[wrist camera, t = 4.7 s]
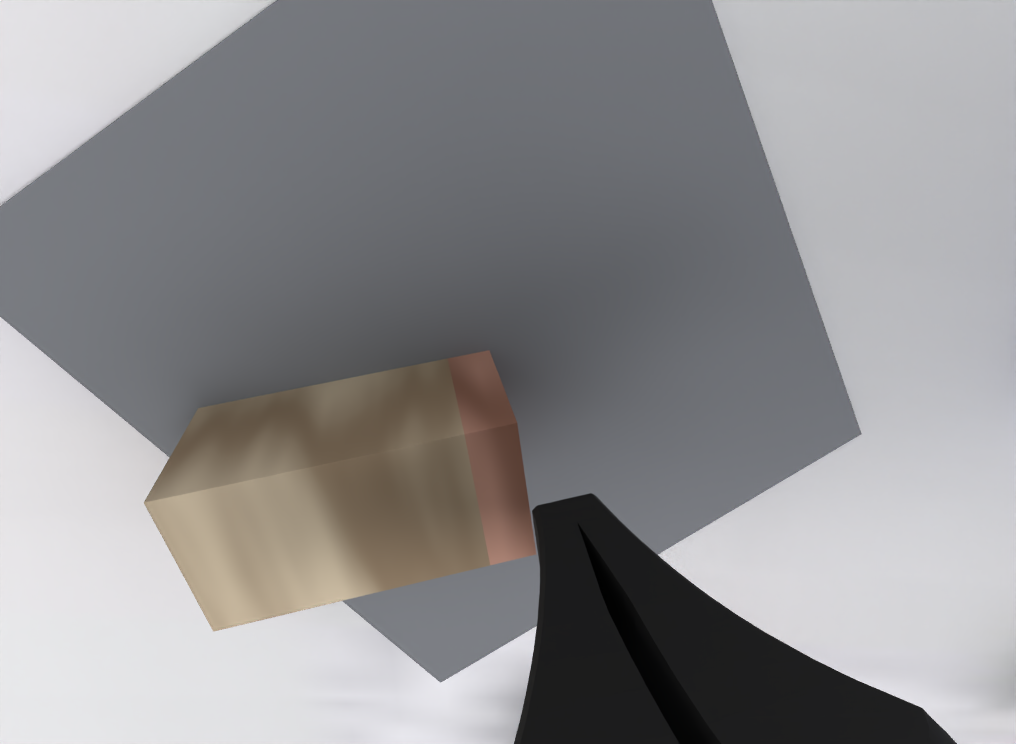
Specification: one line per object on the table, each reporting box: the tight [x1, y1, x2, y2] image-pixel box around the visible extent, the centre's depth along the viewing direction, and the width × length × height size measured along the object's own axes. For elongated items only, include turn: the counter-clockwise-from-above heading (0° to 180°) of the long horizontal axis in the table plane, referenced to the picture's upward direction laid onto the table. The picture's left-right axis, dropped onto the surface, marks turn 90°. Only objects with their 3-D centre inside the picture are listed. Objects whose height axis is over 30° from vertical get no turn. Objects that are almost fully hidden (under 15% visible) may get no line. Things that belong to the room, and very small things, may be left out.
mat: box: [0, 0, 861, 682], centre depth 17 cm, size 20×18×1 cm
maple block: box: [144, 350, 536, 631], centre depth 15 cm, size 4×4×8 cm
